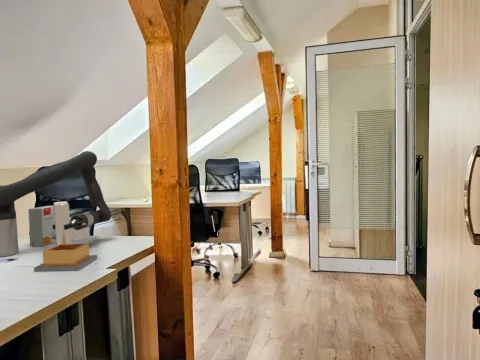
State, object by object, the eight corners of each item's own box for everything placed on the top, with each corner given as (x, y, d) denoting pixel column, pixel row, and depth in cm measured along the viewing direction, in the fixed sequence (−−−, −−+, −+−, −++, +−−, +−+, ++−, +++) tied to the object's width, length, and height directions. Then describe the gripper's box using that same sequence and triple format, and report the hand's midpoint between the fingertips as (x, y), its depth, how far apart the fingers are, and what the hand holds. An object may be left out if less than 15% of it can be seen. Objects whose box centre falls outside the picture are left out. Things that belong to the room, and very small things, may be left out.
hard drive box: (42, 246, 192) (40, 208, 190) (29, 246, 193) (27, 209, 192) (61, 240, 207) (59, 205, 206) (49, 240, 208) (47, 205, 207)
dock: (34, 271, 146) (32, 253, 146) (57, 259, 164) (56, 242, 164) (78, 270, 146) (77, 251, 145) (97, 258, 164) (96, 241, 163)
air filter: (65, 256, 168) (62, 202, 167) (53, 256, 170) (49, 202, 168) (75, 253, 175) (71, 201, 173) (63, 252, 176) (59, 201, 175)
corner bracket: (75, 240, 205) (74, 219, 204) (64, 238, 212) (63, 217, 211) (92, 237, 213) (91, 216, 213) (82, 235, 220) (81, 215, 219)
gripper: (69, 213, 187) (45, 219, 170) (94, 213, 184) (72, 219, 167) (70, 228, 187) (46, 235, 171) (95, 228, 184) (73, 235, 168)
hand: (59, 227), depth 169 cm, fingers closed on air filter, 5 cm apart
